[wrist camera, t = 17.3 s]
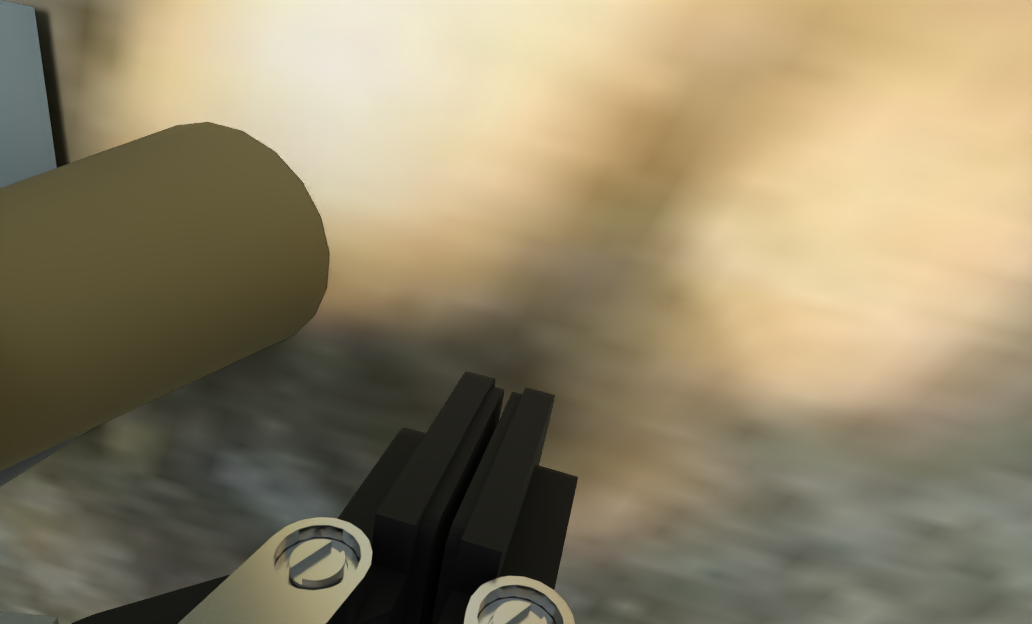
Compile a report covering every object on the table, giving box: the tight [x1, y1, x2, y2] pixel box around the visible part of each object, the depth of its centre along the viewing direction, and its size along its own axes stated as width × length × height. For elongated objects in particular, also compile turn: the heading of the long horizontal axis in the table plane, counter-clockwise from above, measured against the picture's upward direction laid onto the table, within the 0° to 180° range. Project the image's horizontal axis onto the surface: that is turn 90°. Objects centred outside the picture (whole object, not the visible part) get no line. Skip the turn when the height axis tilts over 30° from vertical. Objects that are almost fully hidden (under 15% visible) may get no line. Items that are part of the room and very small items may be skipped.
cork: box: [0, 122, 329, 471], centre depth 12 cm, size 6×6×11 cm
